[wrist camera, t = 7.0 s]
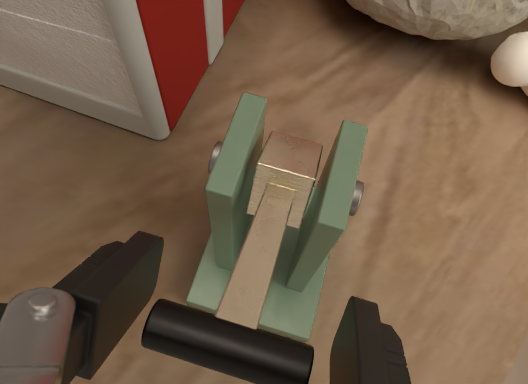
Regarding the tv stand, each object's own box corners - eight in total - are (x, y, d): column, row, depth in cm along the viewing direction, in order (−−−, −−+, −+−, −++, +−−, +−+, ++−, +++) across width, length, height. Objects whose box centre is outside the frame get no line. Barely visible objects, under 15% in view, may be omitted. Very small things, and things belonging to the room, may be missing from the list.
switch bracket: (305, 343, 24) (362, 307, 13) (188, 305, 24) (149, 242, 13) (338, 203, 27) (403, 86, 17) (236, 173, 28) (236, 41, 17)
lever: (292, 420, 10) (318, 365, 9) (138, 370, 11) (141, 309, 9) (328, 197, 18) (344, 150, 17) (241, 171, 19) (250, 123, 17)
